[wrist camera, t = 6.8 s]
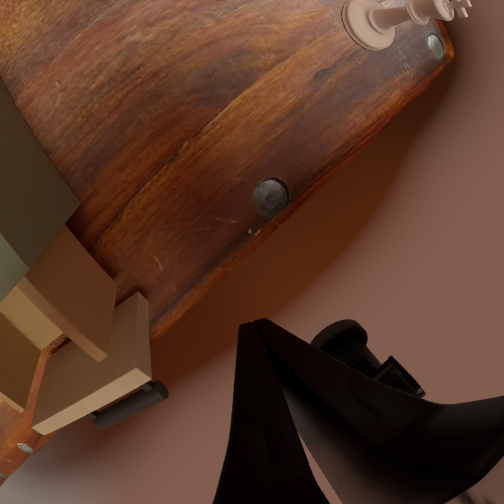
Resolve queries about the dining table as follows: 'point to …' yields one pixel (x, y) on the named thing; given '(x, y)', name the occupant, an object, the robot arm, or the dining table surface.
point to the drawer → (75, 341)
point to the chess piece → (393, 18)
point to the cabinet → (26, 197)
